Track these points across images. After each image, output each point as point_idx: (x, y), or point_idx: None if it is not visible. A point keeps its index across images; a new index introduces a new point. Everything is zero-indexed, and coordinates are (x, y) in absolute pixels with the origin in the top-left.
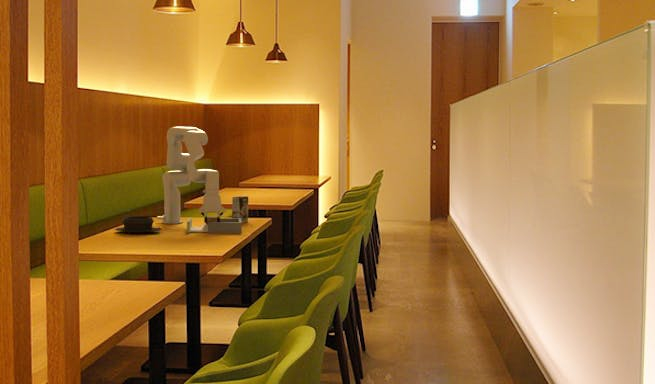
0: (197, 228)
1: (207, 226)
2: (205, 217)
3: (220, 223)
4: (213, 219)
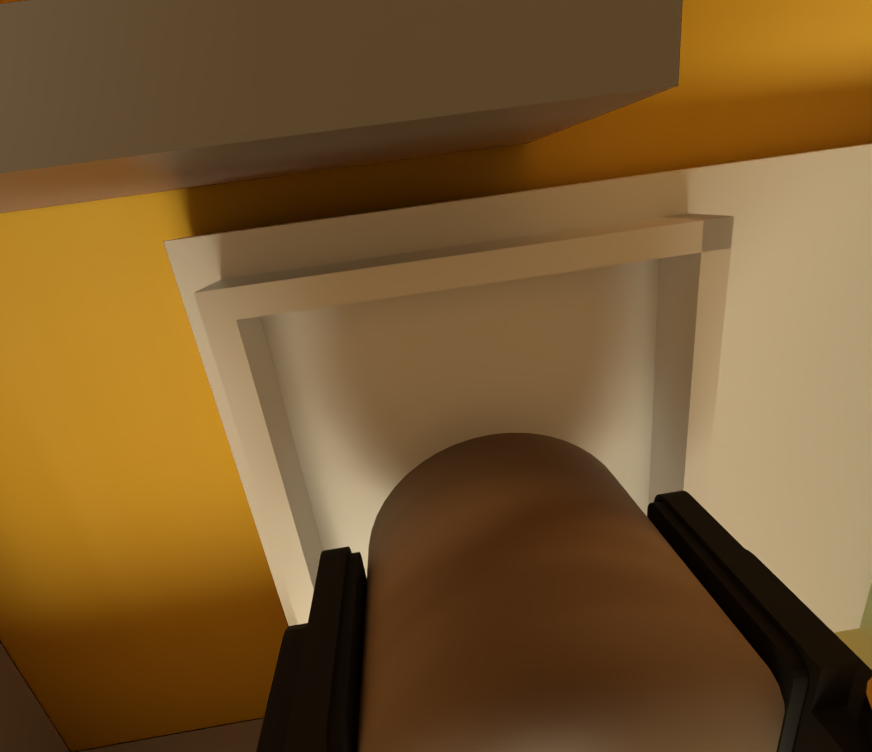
0: (778, 466)
1: None
2: (836, 685)
3: (18, 23)
4: (485, 576)
